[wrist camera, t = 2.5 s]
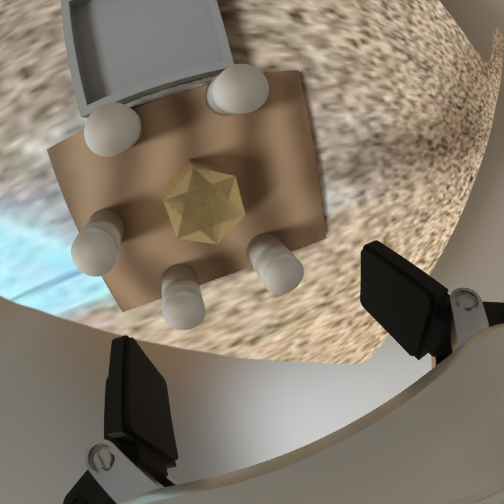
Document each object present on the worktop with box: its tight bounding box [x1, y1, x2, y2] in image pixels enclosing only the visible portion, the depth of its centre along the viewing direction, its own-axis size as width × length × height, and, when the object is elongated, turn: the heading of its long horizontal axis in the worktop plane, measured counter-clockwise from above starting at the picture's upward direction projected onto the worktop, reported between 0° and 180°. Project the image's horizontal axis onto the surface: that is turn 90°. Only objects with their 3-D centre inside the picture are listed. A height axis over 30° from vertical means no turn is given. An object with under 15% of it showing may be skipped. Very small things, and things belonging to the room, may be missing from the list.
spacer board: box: [47, 64, 326, 330], centre depth 24 cm, size 26×21×7 cm
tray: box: [61, 0, 234, 118], centre depth 16 cm, size 14×14×3 cm
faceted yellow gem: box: [163, 160, 245, 244], centre depth 24 cm, size 7×6×5 cm
